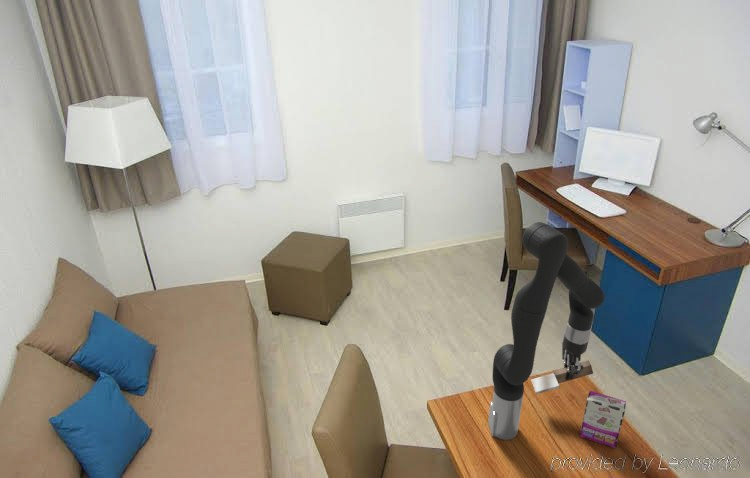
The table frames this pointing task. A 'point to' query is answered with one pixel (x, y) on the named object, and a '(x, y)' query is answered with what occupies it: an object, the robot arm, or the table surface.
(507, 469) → the table surface
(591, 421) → the candy bar box
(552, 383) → the turner
